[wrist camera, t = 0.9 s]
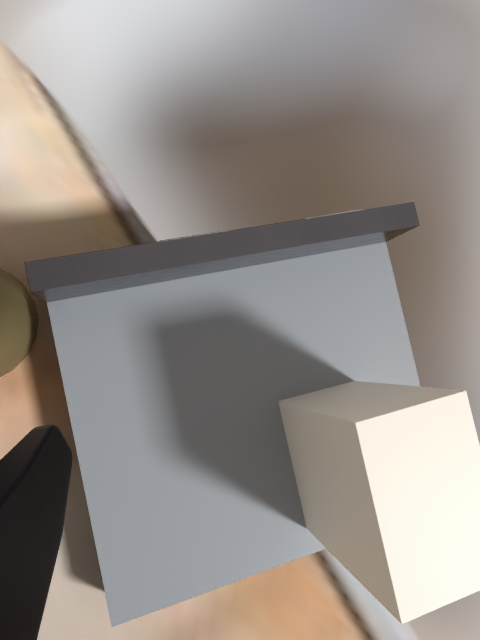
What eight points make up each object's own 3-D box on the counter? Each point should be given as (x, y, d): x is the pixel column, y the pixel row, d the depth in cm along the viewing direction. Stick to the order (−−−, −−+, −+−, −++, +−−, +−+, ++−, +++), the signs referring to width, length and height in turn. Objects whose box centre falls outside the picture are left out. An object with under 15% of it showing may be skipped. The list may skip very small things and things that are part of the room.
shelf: (419, 490, 26) (492, 524, 20) (115, 596, 21) (106, 675, 16) (357, 231, 26) (412, 198, 21) (51, 282, 22) (23, 257, 17)
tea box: (278, 401, 22) (355, 423, 14) (359, 379, 23) (473, 388, 15) (306, 528, 21) (401, 624, 14) (387, 500, 22) (518, 573, 15)
